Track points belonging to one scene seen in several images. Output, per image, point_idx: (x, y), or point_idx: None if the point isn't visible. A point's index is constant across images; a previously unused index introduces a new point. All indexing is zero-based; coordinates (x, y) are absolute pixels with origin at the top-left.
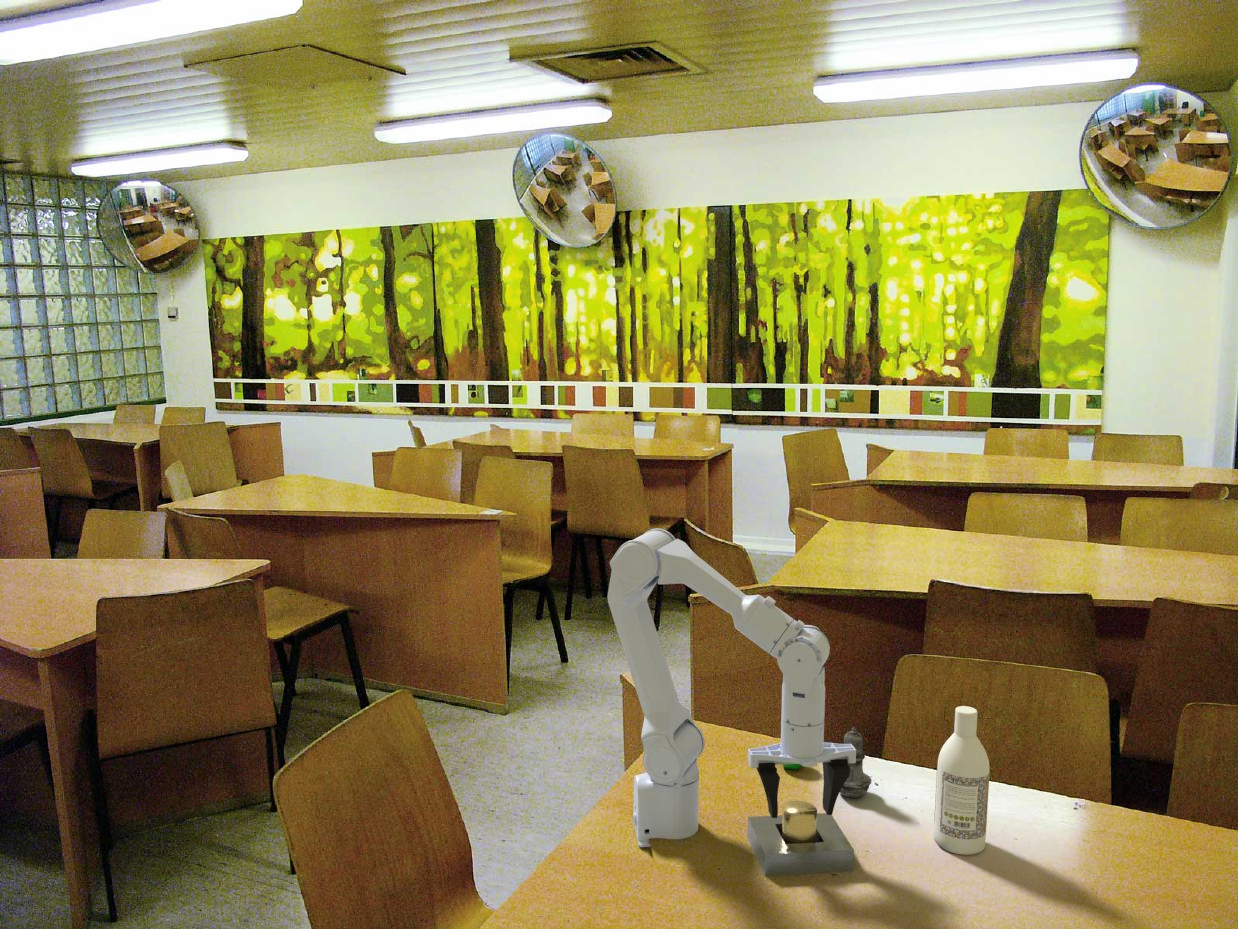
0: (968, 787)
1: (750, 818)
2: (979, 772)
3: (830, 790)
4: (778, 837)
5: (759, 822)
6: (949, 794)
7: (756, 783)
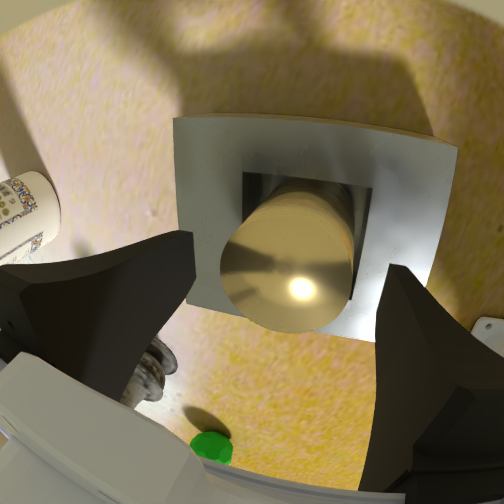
0: None
1: None
2: None
3: (126, 273)
4: (376, 231)
5: None
6: None
7: (283, 432)
